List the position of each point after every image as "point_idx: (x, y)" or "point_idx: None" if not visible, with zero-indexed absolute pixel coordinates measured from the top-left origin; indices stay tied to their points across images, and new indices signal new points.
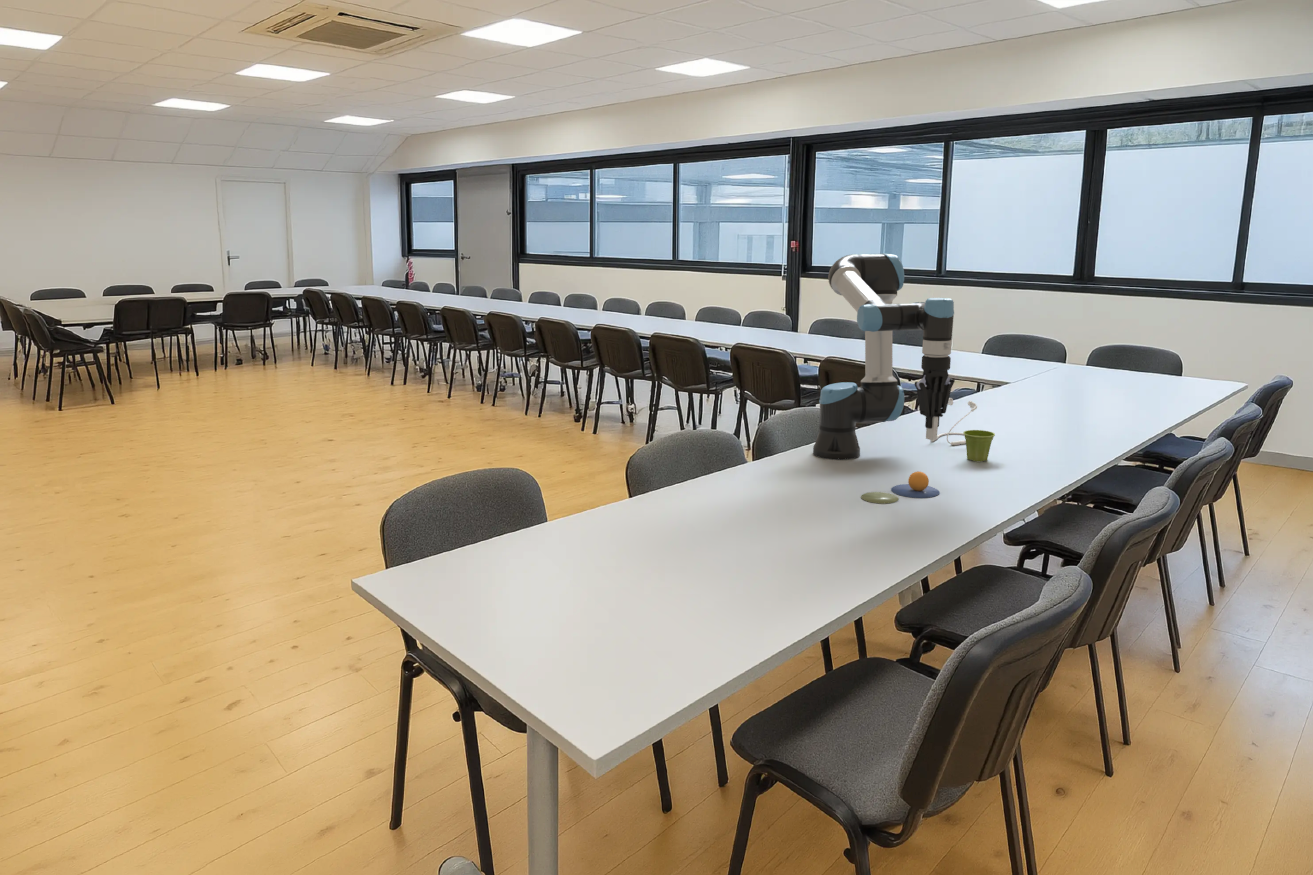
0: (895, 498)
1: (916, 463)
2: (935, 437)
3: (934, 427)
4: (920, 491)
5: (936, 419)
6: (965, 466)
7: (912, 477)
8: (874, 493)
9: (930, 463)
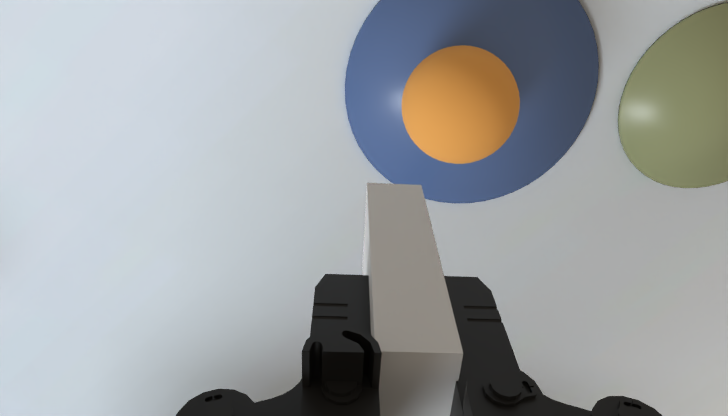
0: (678, 42)
1: (110, 389)
2: (390, 196)
3: (425, 260)
4: None
5: (410, 327)
6: None
7: (516, 117)
8: (671, 163)
9: (49, 364)
